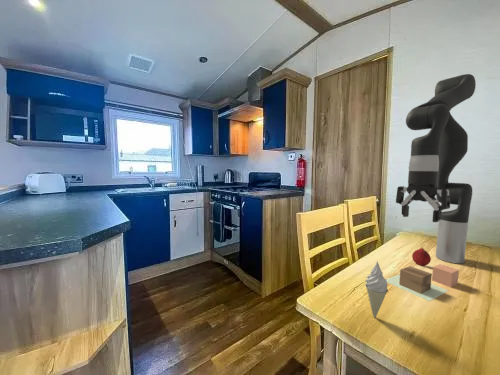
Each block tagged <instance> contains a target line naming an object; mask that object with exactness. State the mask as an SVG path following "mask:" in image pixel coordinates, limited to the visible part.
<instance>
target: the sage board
mask: <svg viewBox="0 0 500 375" xmlns="http://www.w3.org/2000/svg"><path fill="white" fill-rule="evenodd" d="M385 279H386V278H385ZM386 281H387V284H390V285H392V286H395V287H396V288H399V289H400V290H403V291H406V292H408V293H410V294H412V295H414V296H416V297H418V298H421V299H423V300H426V301H427V302H430V301H433V300H435V299H436V298H438V297H439V296H441V295H444V294H445V293H447V292H448V291H449V290H448V289H446V288H443V287H440V286H438V285H435V284H433V283H431V289H430V290H428V291H426V292H424V293H422V294H420V293H417V292H415V291H413V290H411V289H408V288H406V287H404V286H401V285H399V282H400V273H399V274H396V275H394V276H391V277H388V278H387V279H386Z"/></svg>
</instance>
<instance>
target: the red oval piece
mask: <svg viewBox="0 0 500 375" xmlns="http://www.w3.org/2000/svg"><path fill="white" fill-rule="evenodd" d="M411 257H412V260H413V262H414V263H415V264H416V265H417V266H419V267H420V266H421V267H425V266H428V265H429V264H430V263H431V260H432V257H431V255H430V253H429V252H428V251H427V250H425V249H424V247H423V246H420V248H418V249H416V250H414V251H413V253H412V256H411Z"/></svg>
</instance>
